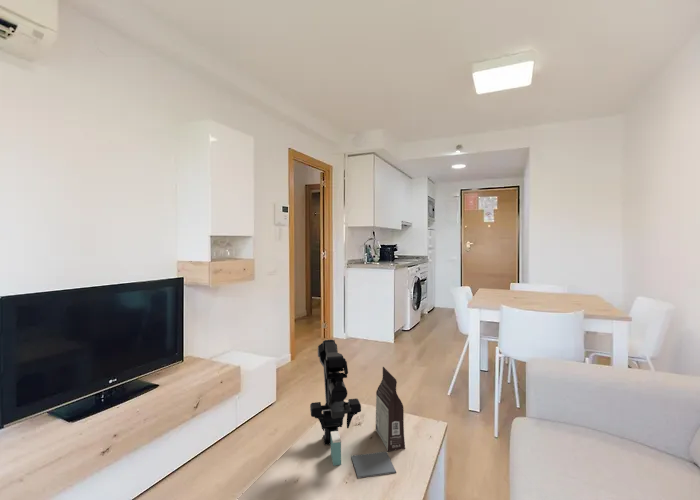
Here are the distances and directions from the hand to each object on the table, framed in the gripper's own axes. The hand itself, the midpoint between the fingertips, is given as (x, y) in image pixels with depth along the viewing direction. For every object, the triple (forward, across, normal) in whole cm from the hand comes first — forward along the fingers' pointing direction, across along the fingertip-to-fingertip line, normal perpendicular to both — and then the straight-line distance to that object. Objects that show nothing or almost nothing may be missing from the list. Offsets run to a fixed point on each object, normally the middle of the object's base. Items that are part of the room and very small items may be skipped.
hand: (335, 429), depth 133 cm
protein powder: (+12, +24, +9) cm, 28 cm away
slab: (+12, 0, 0) cm, 12 cm away
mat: (+12, +13, -6) cm, 18 cm away
